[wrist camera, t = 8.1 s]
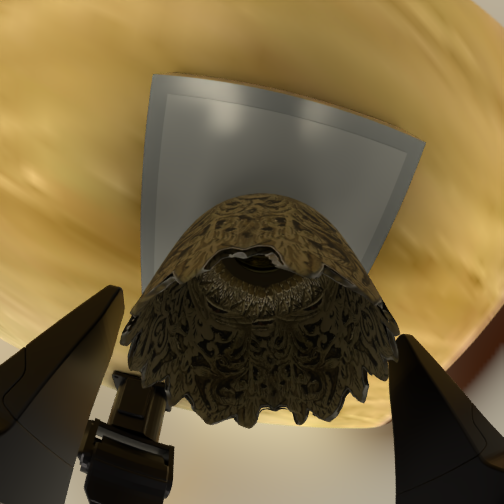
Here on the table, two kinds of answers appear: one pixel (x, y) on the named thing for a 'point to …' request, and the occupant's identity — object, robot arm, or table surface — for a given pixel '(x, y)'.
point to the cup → (261, 316)
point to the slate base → (266, 160)
